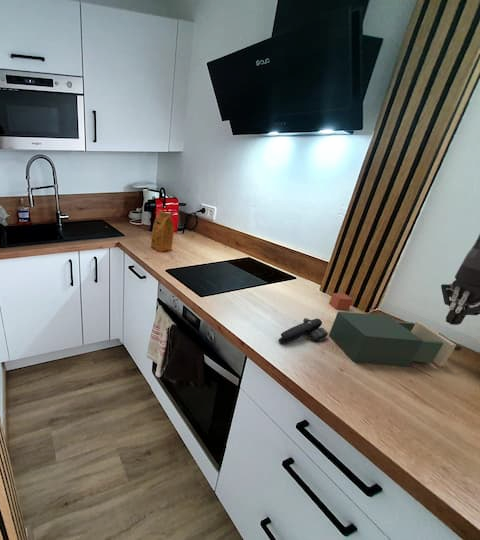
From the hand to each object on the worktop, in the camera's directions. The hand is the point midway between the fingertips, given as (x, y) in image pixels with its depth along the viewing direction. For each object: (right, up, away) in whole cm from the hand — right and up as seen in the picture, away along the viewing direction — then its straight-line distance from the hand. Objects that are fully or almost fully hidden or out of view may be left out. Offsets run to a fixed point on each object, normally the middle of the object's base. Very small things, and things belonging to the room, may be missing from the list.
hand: (451, 323), depth 80 cm
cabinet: (-19, -9, +6) cm, 22 cm away
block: (-9, +1, +30) cm, 31 cm away
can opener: (-36, -7, +11) cm, 38 cm away
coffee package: (-69, +27, +87) cm, 114 cm away
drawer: (-7, -9, +5) cm, 13 cm away
